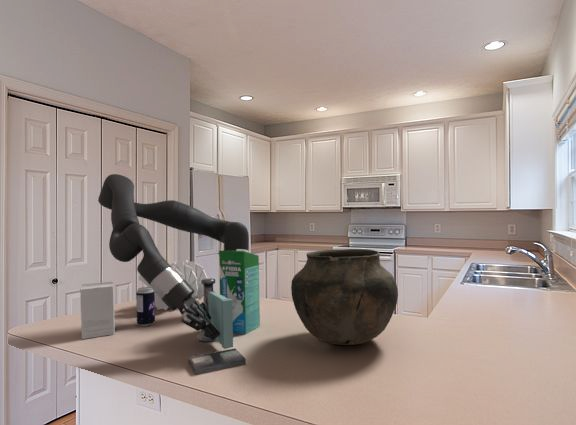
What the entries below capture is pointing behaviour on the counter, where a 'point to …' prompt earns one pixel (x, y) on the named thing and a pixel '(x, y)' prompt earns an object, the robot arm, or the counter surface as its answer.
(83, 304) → the supplement box
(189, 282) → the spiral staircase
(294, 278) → the pot
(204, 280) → the post
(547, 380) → the counter surface
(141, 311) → the beverage can
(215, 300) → the swing panel
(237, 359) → the tray
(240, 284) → the milk carton
